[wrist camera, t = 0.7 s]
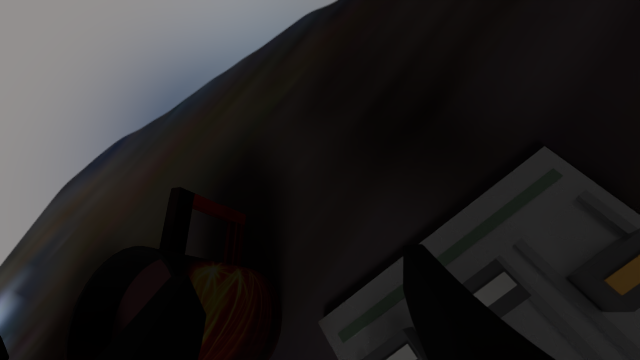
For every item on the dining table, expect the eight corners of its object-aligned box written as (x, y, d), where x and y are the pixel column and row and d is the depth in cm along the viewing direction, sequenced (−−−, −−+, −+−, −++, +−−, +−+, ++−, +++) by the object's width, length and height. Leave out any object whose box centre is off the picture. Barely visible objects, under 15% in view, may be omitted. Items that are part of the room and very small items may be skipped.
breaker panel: (808, 351, 17) (847, 355, 15) (466, 575, 19) (466, 602, 17) (541, 152, 25) (547, 141, 23) (323, 321, 27) (314, 322, 25)
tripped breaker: (661, 271, 19) (707, 261, 15) (604, 312, 19) (635, 311, 16) (619, 238, 20) (652, 222, 17) (566, 277, 21) (587, 269, 17)
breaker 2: (521, 298, 21) (532, 295, 17) (471, 334, 21) (472, 339, 18) (491, 267, 22) (496, 258, 19) (445, 301, 23) (441, 299, 19)
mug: (251, 214, 34) (158, 171, 24) (297, 351, 27) (193, 374, 17) (181, 258, 35) (65, 236, 25) (207, 398, 29) (62, 446, 18)
